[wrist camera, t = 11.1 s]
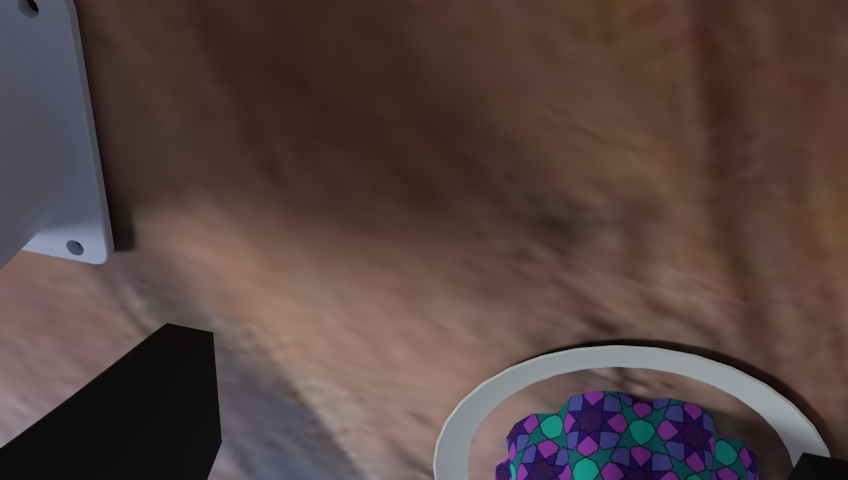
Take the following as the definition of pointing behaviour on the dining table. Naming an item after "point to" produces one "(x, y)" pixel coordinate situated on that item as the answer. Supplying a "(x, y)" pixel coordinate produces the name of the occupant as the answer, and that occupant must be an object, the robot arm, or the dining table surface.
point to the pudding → (621, 424)
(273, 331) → the dining table surface
